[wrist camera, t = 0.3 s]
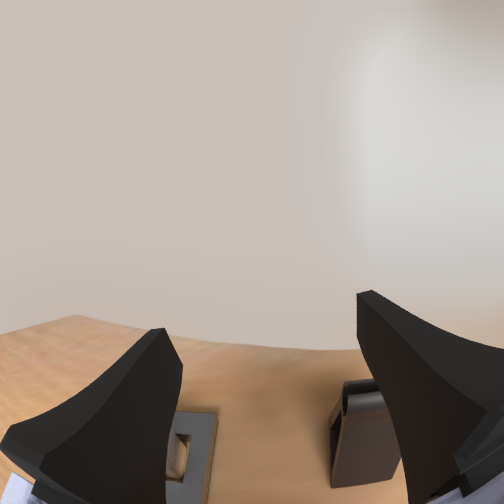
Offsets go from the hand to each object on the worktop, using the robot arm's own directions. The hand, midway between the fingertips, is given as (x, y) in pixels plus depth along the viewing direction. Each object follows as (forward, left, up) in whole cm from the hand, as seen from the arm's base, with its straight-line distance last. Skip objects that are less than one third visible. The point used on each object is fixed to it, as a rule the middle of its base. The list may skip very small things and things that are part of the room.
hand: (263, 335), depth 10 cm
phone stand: (+3, -8, -21) cm, 23 cm away
